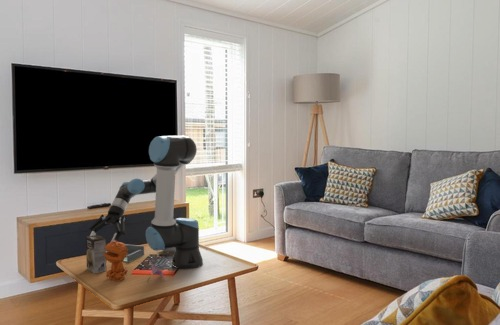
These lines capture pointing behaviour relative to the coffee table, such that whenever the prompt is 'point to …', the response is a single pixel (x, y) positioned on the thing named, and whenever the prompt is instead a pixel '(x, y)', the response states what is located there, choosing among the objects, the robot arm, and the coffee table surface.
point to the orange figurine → (116, 260)
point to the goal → (133, 252)
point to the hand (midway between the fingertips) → (99, 244)
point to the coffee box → (96, 253)
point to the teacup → (169, 250)
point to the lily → (155, 271)
